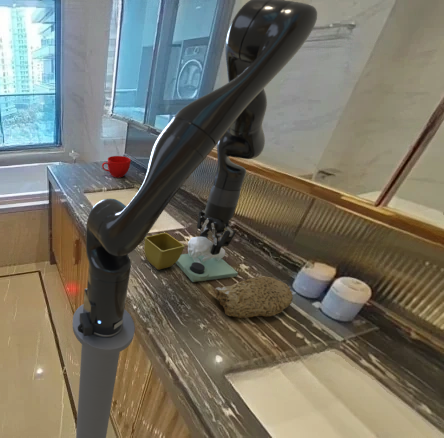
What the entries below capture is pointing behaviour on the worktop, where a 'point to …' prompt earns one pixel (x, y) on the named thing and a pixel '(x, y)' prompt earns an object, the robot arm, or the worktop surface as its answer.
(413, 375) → the worktop surface
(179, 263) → the scale
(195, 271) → the button
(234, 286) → the sponge
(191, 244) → the white animal figurine
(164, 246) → the flower pot
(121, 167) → the ceramic cup
